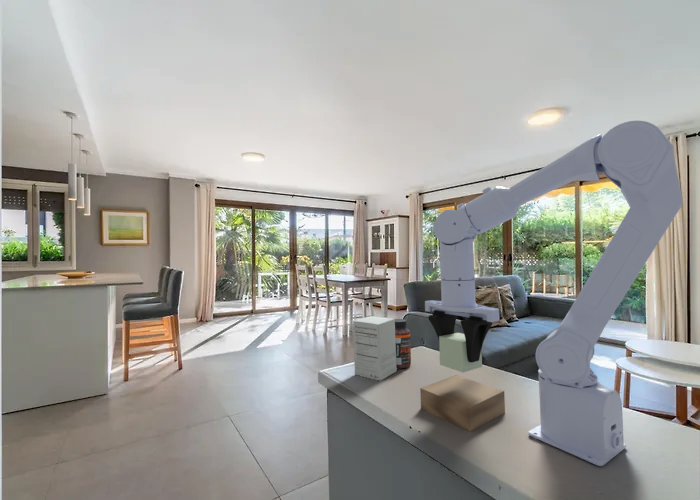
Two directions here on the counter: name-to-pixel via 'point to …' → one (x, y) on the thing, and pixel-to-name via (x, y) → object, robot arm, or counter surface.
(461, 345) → the sage cube
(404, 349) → the supplement bottle
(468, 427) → the walnut block
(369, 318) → the supplement box
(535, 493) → the counter surface
